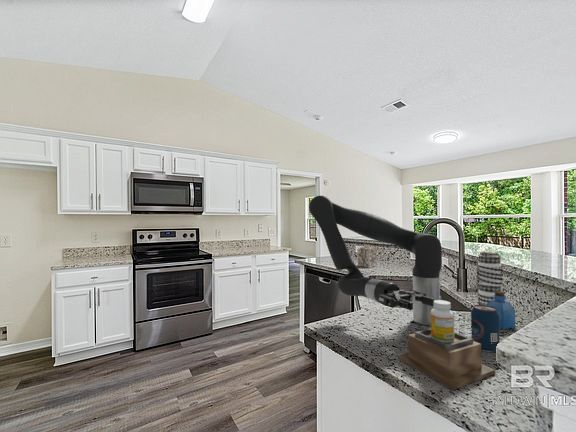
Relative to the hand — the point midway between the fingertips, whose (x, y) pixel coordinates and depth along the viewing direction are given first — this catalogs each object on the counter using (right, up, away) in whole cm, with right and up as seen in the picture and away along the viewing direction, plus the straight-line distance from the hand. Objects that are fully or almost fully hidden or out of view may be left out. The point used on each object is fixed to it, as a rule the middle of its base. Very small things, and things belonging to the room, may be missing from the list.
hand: (423, 304), depth 80 cm
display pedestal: (+3, -14, -6) cm, 16 cm away
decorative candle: (+46, -15, +38) cm, 61 cm away
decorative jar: (+29, -18, +159) cm, 162 cm away
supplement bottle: (+2, -7, -6) cm, 10 cm away
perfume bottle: (+39, -15, +23) cm, 47 cm away
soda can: (+21, -15, +5) cm, 26 cm away
